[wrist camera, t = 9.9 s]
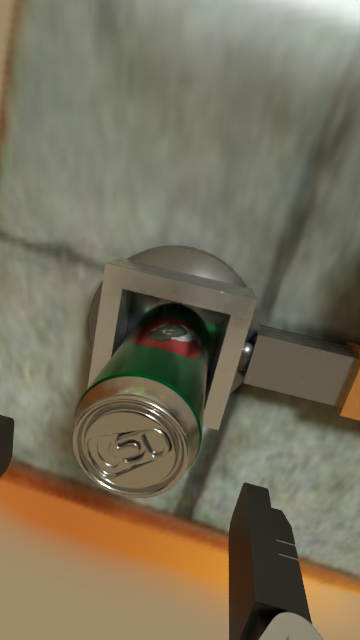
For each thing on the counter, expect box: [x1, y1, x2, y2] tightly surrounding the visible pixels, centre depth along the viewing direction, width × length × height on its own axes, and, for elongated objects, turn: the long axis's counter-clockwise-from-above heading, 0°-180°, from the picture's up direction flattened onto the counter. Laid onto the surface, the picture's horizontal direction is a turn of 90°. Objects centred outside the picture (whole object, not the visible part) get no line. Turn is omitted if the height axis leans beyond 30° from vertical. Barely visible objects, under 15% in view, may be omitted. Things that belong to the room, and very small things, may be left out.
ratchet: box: [88, 245, 360, 430], centre depth 22 cm, size 28×12×4 cm, turn 78°
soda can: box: [72, 303, 210, 498], centre depth 18 cm, size 5×5×12 cm
